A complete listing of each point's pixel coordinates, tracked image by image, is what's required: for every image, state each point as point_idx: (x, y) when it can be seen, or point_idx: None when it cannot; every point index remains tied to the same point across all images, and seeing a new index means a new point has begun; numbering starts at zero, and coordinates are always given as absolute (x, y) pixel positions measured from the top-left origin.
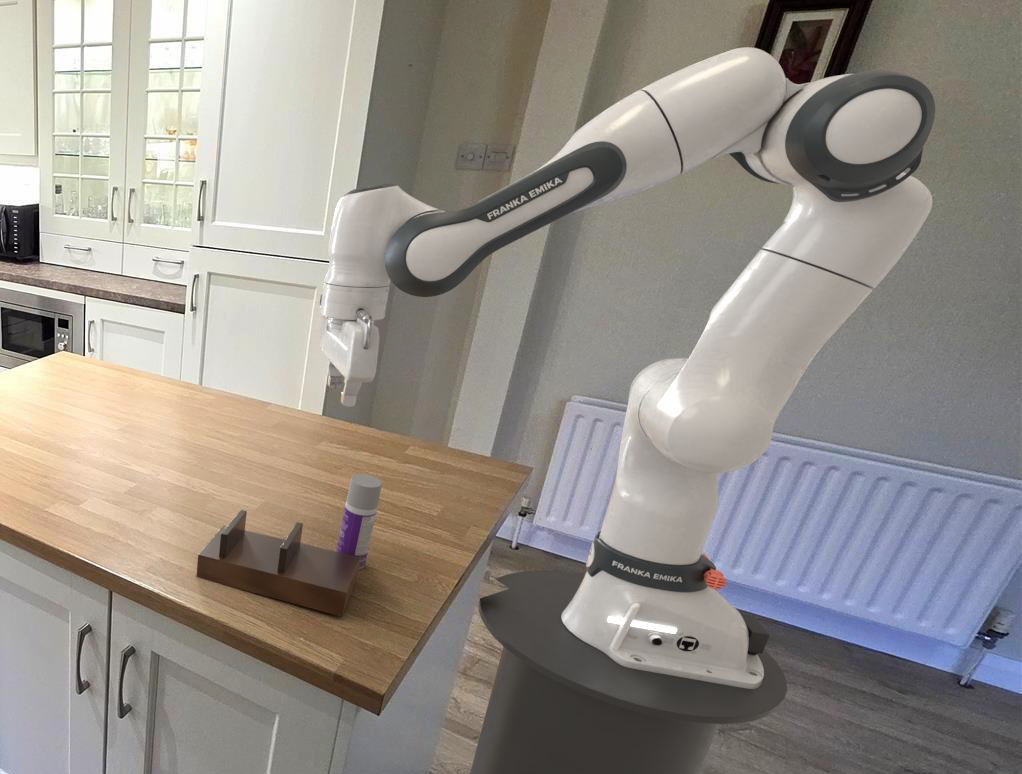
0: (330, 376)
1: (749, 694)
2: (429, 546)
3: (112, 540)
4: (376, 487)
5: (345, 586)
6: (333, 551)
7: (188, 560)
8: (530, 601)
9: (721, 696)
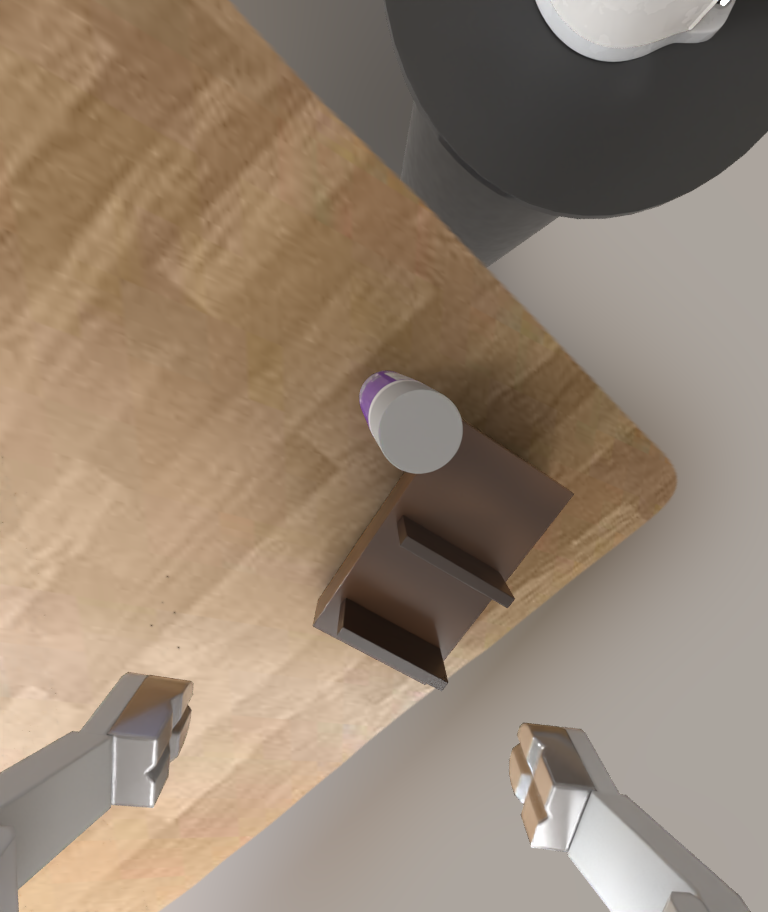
0: (110, 798)
1: None
2: (291, 172)
3: (278, 738)
4: (461, 419)
5: (556, 487)
6: None
7: (346, 644)
8: (501, 68)
9: None
